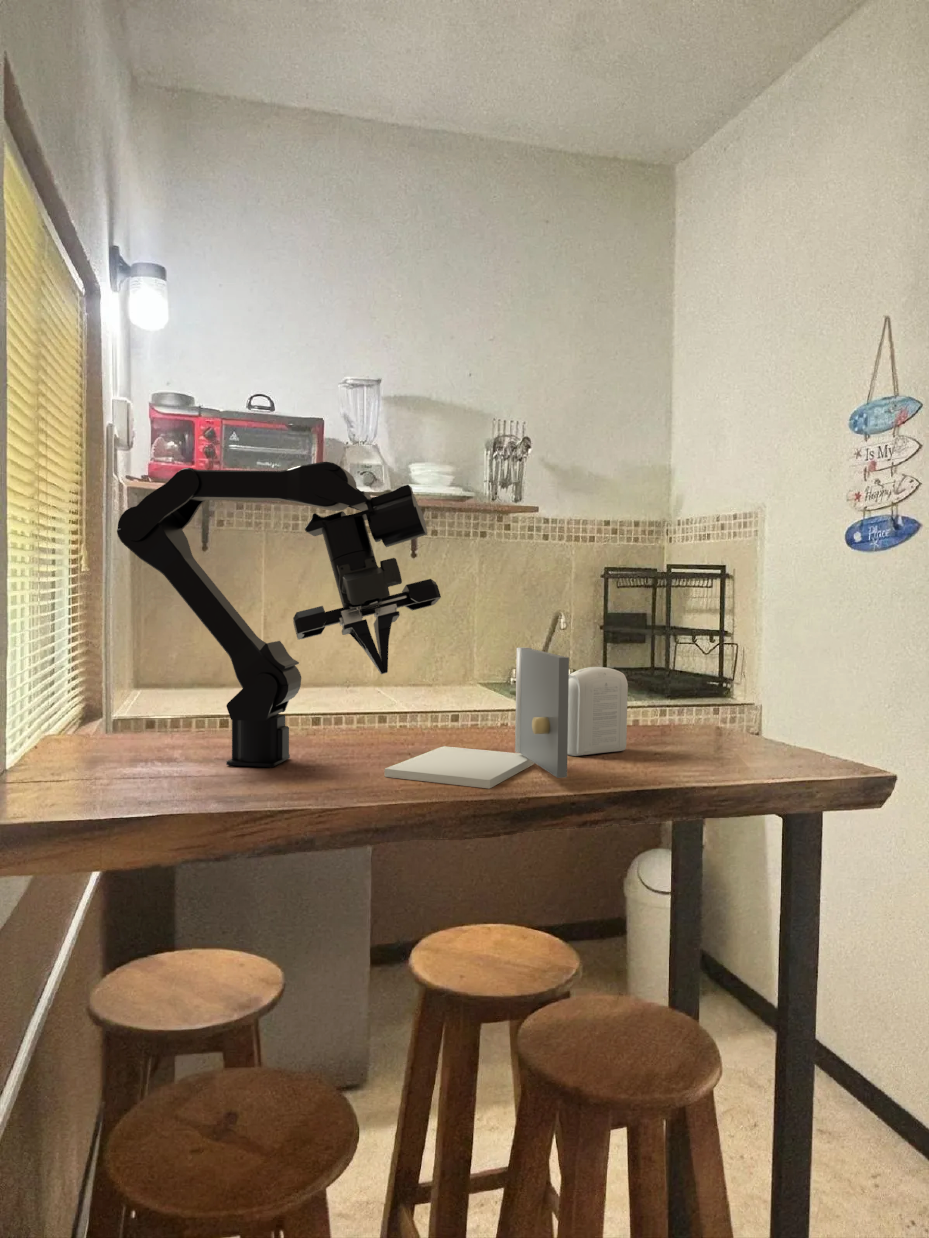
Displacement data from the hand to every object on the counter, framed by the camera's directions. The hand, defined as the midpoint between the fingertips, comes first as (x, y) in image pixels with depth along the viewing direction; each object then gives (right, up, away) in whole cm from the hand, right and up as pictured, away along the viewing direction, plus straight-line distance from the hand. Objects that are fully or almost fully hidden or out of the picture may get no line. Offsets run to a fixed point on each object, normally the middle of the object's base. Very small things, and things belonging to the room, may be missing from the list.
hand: (384, 673), depth 109 cm
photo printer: (+29, -12, +14) cm, 35 cm away
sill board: (+10, -12, +1) cm, 16 cm away
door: (+19, -11, -2) cm, 22 cm away
